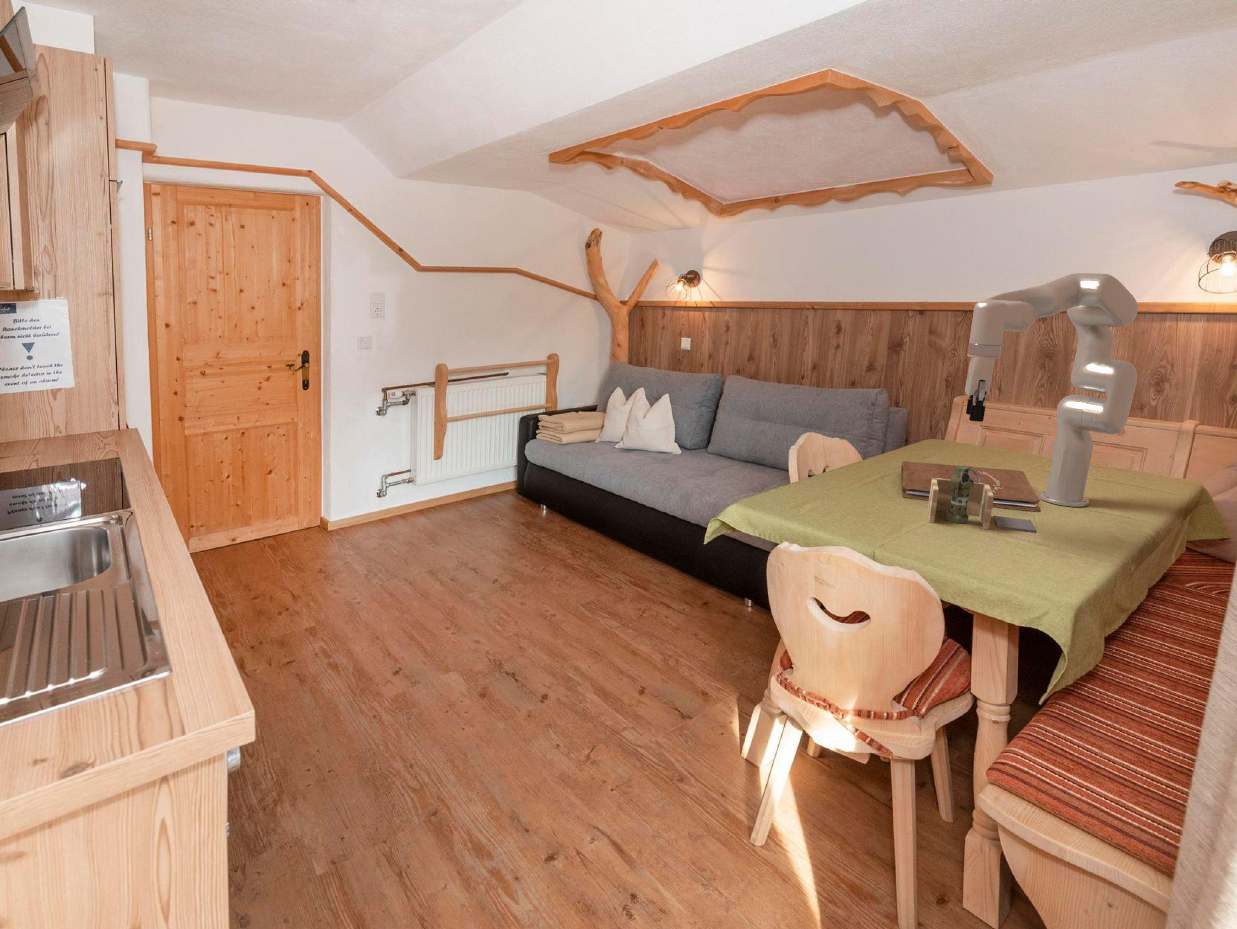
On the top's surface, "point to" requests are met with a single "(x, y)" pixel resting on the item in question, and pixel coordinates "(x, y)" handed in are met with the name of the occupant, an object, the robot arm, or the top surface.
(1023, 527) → the coaster
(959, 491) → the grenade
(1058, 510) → the top surface
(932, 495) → the light wood u-shaped frame
